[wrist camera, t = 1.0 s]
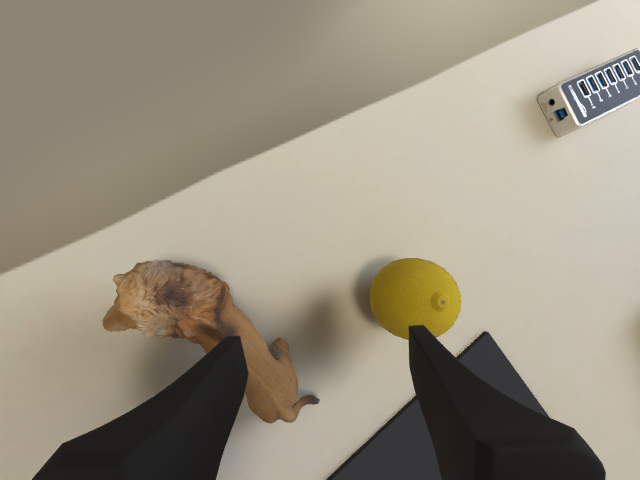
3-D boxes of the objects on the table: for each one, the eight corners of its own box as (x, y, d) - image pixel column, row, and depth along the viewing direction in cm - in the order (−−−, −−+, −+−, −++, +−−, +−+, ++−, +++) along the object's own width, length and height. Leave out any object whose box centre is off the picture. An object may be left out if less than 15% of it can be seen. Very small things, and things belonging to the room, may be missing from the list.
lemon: (347, 271, 27) (386, 268, 19) (409, 253, 28) (470, 243, 20) (367, 340, 26) (414, 365, 19) (429, 319, 28) (497, 334, 20)
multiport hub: (634, 99, 35) (660, 87, 32) (556, 138, 32) (579, 127, 30) (614, 61, 35) (639, 46, 33) (535, 97, 32) (557, 83, 30)
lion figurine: (131, 305, 24) (59, 321, 15) (184, 246, 25) (146, 228, 16) (296, 429, 25) (319, 511, 16) (339, 367, 26) (383, 412, 17)
